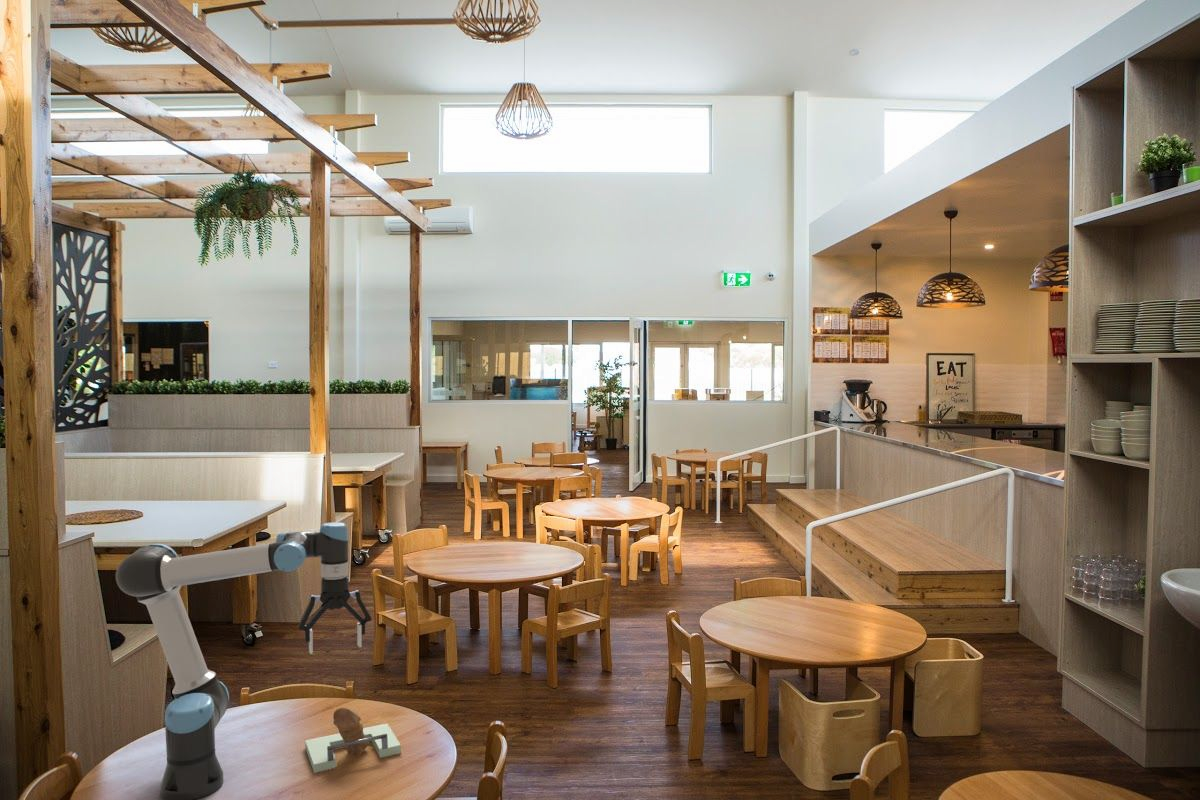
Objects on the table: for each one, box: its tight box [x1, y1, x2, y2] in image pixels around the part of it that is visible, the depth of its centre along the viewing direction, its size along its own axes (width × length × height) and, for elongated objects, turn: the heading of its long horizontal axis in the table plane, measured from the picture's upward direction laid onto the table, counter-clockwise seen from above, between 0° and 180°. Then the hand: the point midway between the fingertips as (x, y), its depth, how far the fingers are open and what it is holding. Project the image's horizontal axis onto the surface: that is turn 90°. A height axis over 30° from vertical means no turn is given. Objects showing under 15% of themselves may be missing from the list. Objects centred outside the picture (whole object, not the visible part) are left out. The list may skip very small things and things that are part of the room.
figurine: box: [332, 707, 370, 755], centre depth 241 cm, size 8×8×15 cm
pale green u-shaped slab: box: [304, 722, 402, 774], centre depth 244 cm, size 24×17×2 cm
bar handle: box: [327, 734, 388, 761], centre depth 237 cm, size 16×1×4 cm, turn 117°
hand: (335, 649), depth 243 cm, fingers open, 13 cm apart
